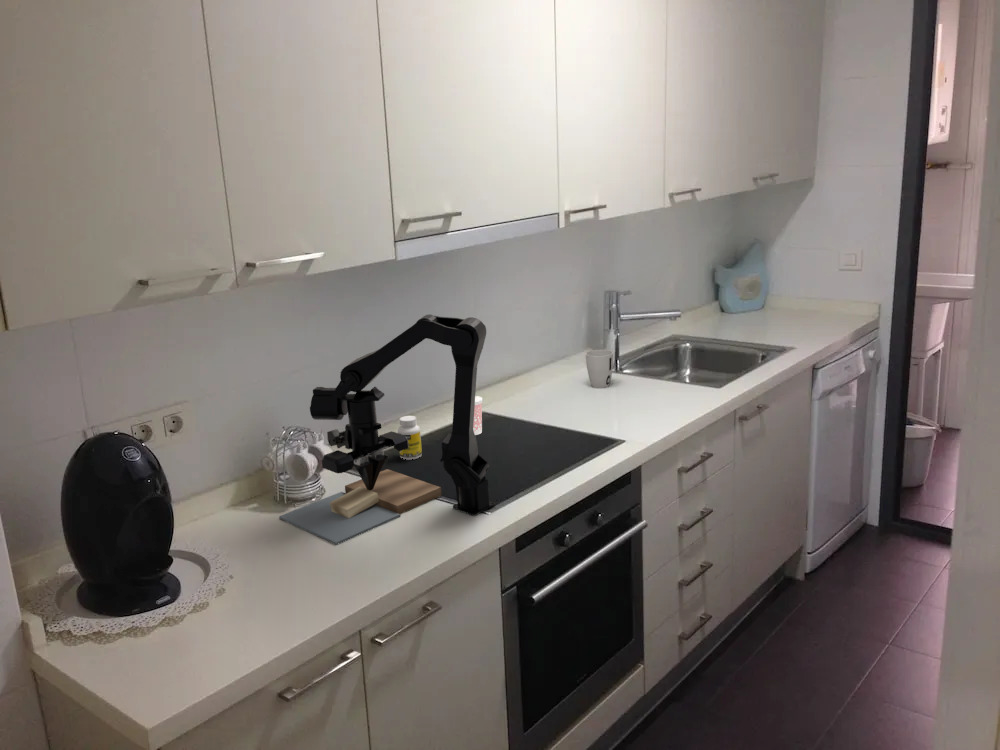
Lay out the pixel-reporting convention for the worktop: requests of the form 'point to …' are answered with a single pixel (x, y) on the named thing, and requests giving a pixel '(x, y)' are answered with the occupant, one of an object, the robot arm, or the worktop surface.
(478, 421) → the beverage cup
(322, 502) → the slate mat
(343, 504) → the birch tile
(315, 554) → the worktop surface
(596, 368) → the cup
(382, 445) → the robot arm
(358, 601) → the worktop surface
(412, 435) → the supplement bottle
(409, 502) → the walnut board
